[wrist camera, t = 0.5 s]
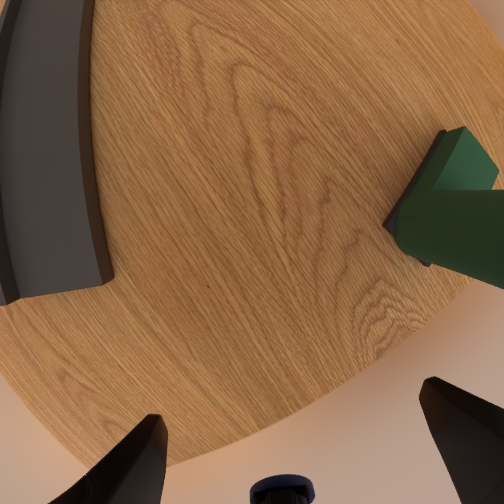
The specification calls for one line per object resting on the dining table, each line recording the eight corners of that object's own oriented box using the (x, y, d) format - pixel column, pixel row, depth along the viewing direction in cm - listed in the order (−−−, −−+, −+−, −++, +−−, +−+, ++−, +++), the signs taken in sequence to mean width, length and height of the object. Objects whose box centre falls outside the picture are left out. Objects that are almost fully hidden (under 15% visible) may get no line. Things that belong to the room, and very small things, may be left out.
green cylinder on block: (421, 269, 22) (533, 318, 9) (378, 229, 21) (498, 257, 9) (475, 172, 20) (582, 166, 8) (439, 130, 20) (548, 97, 8)
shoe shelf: (116, 277, 21) (89, 293, 17) (29, 292, 21) (-1, 306, 17) (110, -72, 15) (100, -91, 10) (44, -41, 15) (31, -56, 10)
